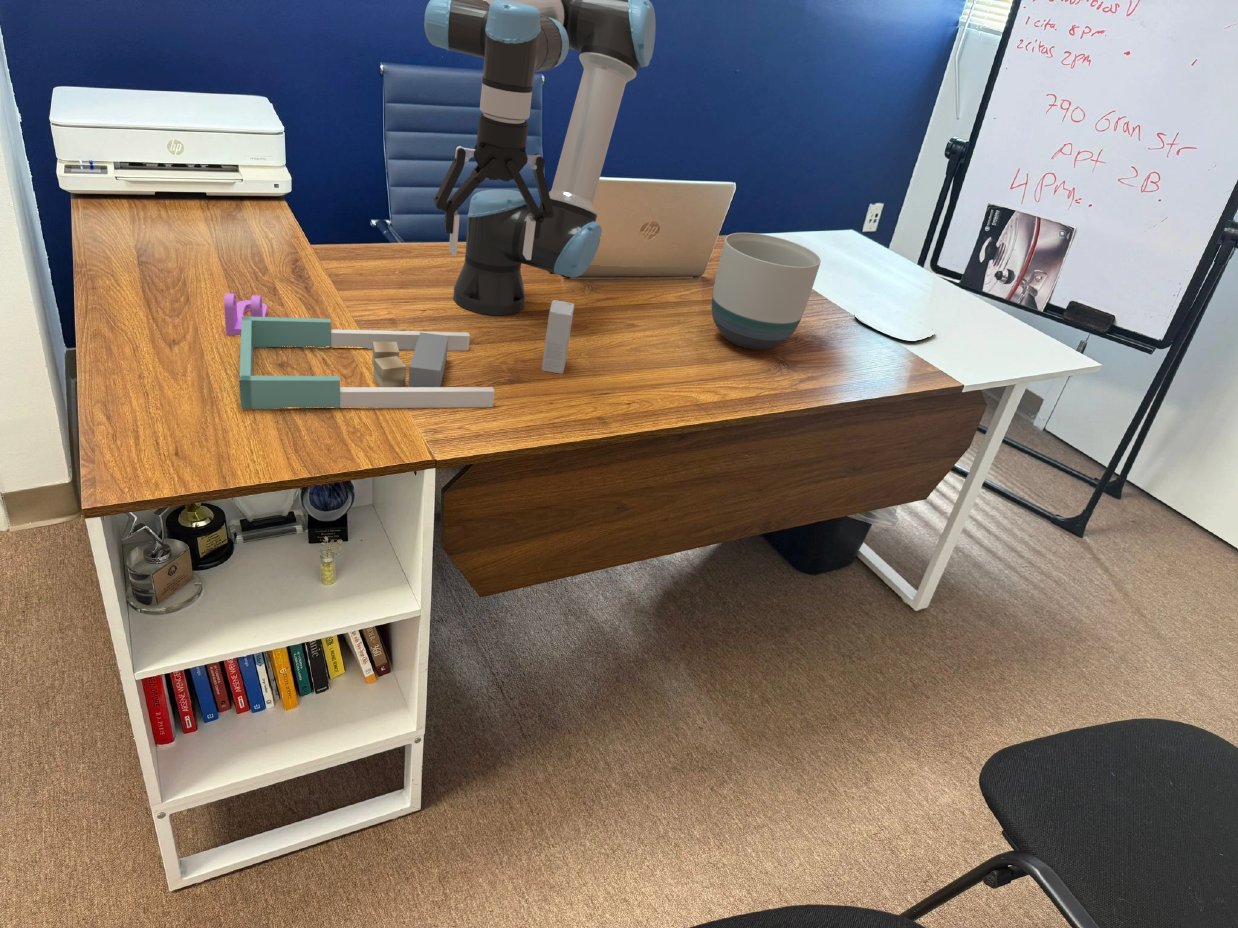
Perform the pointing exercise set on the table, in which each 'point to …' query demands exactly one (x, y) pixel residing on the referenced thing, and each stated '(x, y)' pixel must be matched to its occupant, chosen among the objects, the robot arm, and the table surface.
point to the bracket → (241, 311)
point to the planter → (761, 289)
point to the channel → (408, 395)
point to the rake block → (428, 361)
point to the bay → (285, 388)
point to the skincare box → (557, 336)
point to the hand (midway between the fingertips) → (490, 255)
